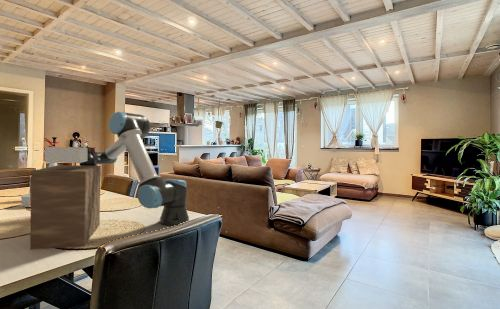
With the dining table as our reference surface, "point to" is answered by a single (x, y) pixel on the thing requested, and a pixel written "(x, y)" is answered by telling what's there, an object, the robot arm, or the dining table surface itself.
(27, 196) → the ramekin
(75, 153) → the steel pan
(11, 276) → the dining table surface
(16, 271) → the dining table surface
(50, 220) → the walnut cabinet
